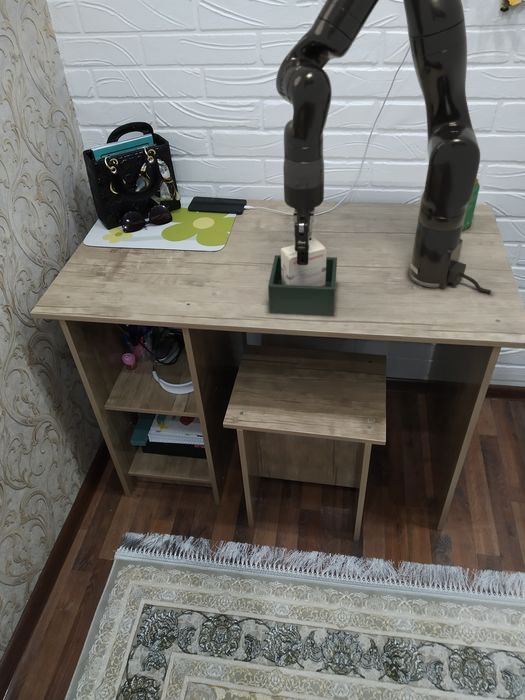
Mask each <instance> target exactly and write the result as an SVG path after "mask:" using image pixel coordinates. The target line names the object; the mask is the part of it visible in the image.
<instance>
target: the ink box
mask: <svg viewBox="0 0 525 700" xmlns="http://www.w3.org/2000/svg"><path fill="white" fill-rule="evenodd" d="M301 243H305V242H301ZM309 245H310V248H309V262H308V265H298V264H297V252H295V244H292V245H291V244H290V245H288V246H284V247H281V248H280V255H281V275H282V285H299V286H322V287H325V286H326V258H327V257H328V255H327V254H328V250H327V248H326V247H325V246H324V244H323V243H322V242H321V241H319V239H317V238H313V239H311V240H310V241H309Z"/></svg>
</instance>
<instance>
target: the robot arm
mask: <svg viewBox="0 0 525 700" xmlns="http://www.w3.org/2000/svg"><path fill="white" fill-rule="evenodd" d="M379 2H380V0H325V2H324V4H323V6H322V7H321V8H320V10H319V12H318V14H317V16H316V18H315V20H314V22H313V24H312V26H311V27H310V28H309V30H308V31H307V32H305V34H303V36H302V37H301V38H299V40H298V41H297V43H295V45H294V46H293V47H292V48H291V50H289V52H288V53H287V54H286V56H285V57H284V59H283V60H282V62H281V63H280V64H279V65H280V66H279V67H278V70H277V73H276V77H275V87H276V91H277V93H278V95H279V96H280V98H282V99H283V100H284V101H286V102H287V103H289V104H290V105H292V109H293V113H292V119H289V121H287V123H286V124H285V126H284V127H283V169H282V173H283V199H284V202H285V204H286V205H287V206H288V207H289V208H292V209H293V210H294V211H293V214H292V220H293V223H294V224H293V236H294V245H295V252H297V264H298V265H308V262H309V248H310V245H309V241H310V240H312V237H313V223H314V221H315V214H316V208H317V207H319V206H321V205H322V203H323V202H324V199H325V161H324V160H325V159H324V130H325V127H326V123H327V119H328V116H329V112H330V107H331V104H332V94H333V89H332V83H331V79H330V76H329V74H328V73H327V72H326V71H325V69H323V68H324V67H326V65H327V64H328V63H329V62H330V61H331V60H334V59H341V58H343V57H344V56H346V55H347V53H348V52H349V50H350V49H351V47H352V45H353V43H354V42H355V41H356V39H357V38H358V36H359V34H360V33H361V31H362V30H363V27H364V26H365V24H366V23H367V21H368V19H369V18H370V17H371V14H372V13H373V11H374V9H375V8H376V6H377V4H378V3H379ZM402 2H403V6H404V7H403V8H404V12H405V13H404V14H405V19H406V26H407V27H406V28H407V29H406V30H407V35H408V43H409V48H410V54H411V58H412V64H413V68H414V72H415V75H416V79H417V82H418V85H419V88H420V90H421V93H422V96H423V101H424V107H425V114H426V130H427V131H426V133H427V136H426V137H427V145H426V146H427V158H428V165H427V172H426V177H425V183H424V184H425V185H424V190H423V192H422V194H421V197H420V204H419V211H418V216H417V223H416V230H415V236H414V243H413V249H412V255H411V261H410V263H409V273H408V276H409V278H410V280H411V281H412V282H413V283H415V284H416V285H417V286H420V287H424V288H430V289H438V288H439V289H442V290H445V289H446V287H448V285H449V284H450V283H451V284H453V285H458V283H459V281H460V280H461V279H462V278H463V279H464V280H467V281H469V282H470V283H472V284H473V285H474V286H475V288H476V290H478V292H481V293H485V294H490V295H491V293H492V289H487V288H484V287H481V285H480V284H479V283H478V281H477V280H476V279H474V278H472V277H471V276H469V275H467V274H465V272H466V268H467V264H466V263H463V262H461V261H459V260H460V256H461V251H462V247H463V242H464V240H463V239H462V237H461V236H462V232H463V231H462V228H463V223H464V219H465V214H466V210H467V205H468V203H469V201H470V199H471V197H472V194H473V190H474V186H475V182H476V178H477V177H478V173H479V169H480V164H481V148H480V146H479V143H478V139H477V135H476V133H475V130H474V127H473V124H472V120H471V116H470V115H471V114H470V112H469V111H470V110H469V106H468V101H467V92H466V82H467V69H468V39H467V28H466V18H465V12H464V5H463V2H462V0H402ZM302 242H305V243H302Z"/></svg>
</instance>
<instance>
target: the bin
mask: <svg viewBox="0 0 525 700" xmlns="http://www.w3.org/2000/svg"><path fill="white" fill-rule="evenodd" d="M273 257H274V258H273V263H272V266H271V267H272V268H271V271H270V276H269V280H268V284H267V292H268V313H270V314H288V315H306V316H326V317H335V316H334V313H335V302H336V301H335V300H336V289H337V269H338V257H333V256H327V258H326V286H325V287H322V286H299V285H282V275H281V254H279V255H278V254H275V255H274V256H273Z"/></svg>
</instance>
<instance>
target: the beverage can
mask: <svg viewBox="0 0 525 700" xmlns="http://www.w3.org/2000/svg"><path fill="white" fill-rule="evenodd" d="M480 187H481V185H480V183H479V179H478V178H477V177H476V182H475V186H474V190H473V194H472V197H471V199H470V201H469V203H468V205H467V210H466V214H465V219H464V223H463V228H462V232H463V231H464V232H465V231H466V230H467V229H468V228H469V227H470V226H471V225H472V224H473V223H472V222H473V220H474V219H473V217H474V213H475V210H476V204H477V200H478V196H479V192H480Z"/></svg>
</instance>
